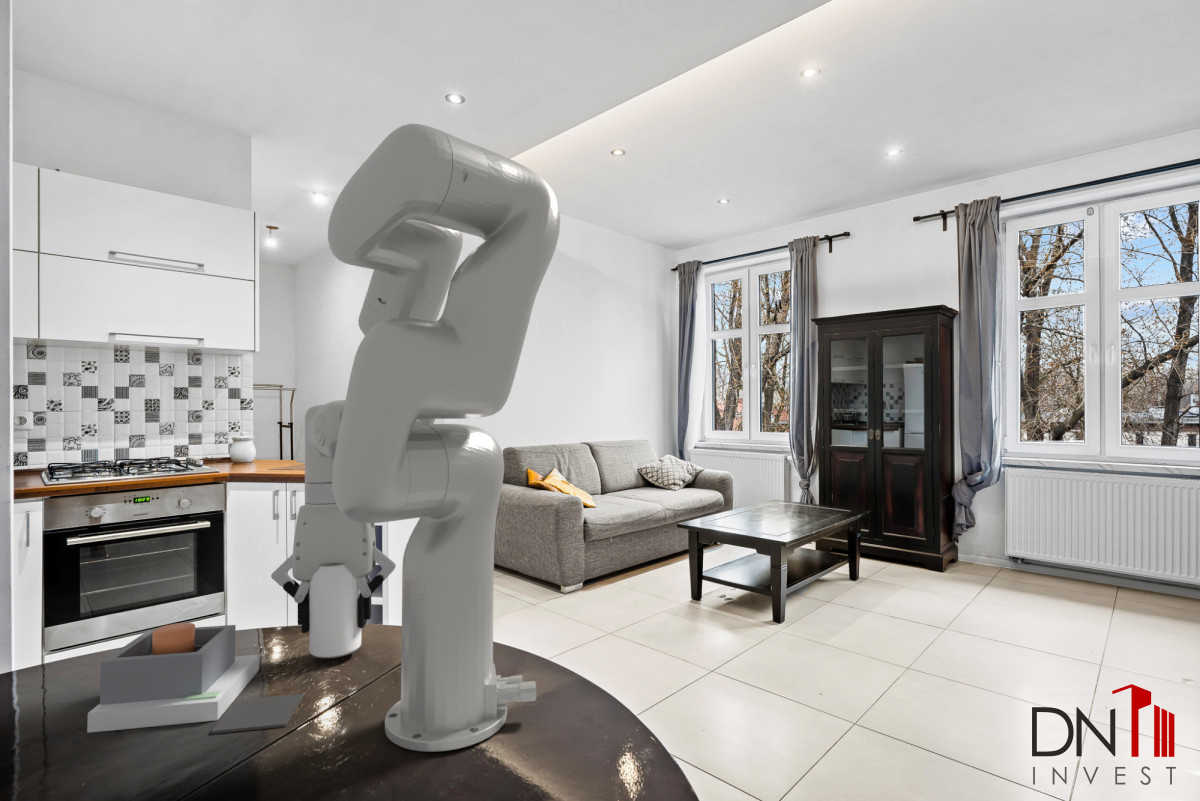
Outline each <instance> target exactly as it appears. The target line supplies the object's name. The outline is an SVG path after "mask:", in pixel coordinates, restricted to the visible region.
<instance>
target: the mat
mask: <svg viewBox="0 0 1200 801" xmlns="http://www.w3.org/2000/svg"><path fill="white" fill-rule="evenodd" d="M303 698H304V693H296V694H285V695H277V696H265V697H262V696H261V697H254V698H253V697H252V698H242V699H235V700H234V702H233V704H231V705H230V706H229V709H227V710H226V711H225V713H224V715H222V716H221V717H220V720H218V722H217V724H215V726H214V727H213V729H211V730H210V734H211V735H218V734H225V733H226V734H227V733H235V732H245V731H247V732H248V731H257V730H264V729H265V730H266V729H276V728H284V727H285V728H286V727H287V725H288V723H289V721H290V720H291V718H292V717H293V715H294V713H295V712H296V710H297V708H298V706H299V705H300V703H301V701H302V699H303Z"/></svg>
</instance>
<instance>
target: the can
mask: <svg viewBox="0 0 1200 801" xmlns="http://www.w3.org/2000/svg"><path fill="white" fill-rule="evenodd" d="M344 565H345V563H344V564H336V565H319V566H320V568H319V570H318V571H317V572H316V573H315V574H314V576H313V577H312V580H311V581H310V587H309V631H308V632H309V634H308V635H309V636H308V640H309V641H308V644H309V648H308V650H309V654H310V655H312V657H314V658H317V659H335V658H341V657H344V656H347V655H350V654H353V653H354V652H356V651H358V650H359V648H360V647H361V646H362V628H359V627H358V599H359V598H360V593H361V592H360V590H359V588H358V586H357V580H356V578H354V577H352V574H351V573H350V571H348V570H347V569H346V568H345V566H344Z"/></svg>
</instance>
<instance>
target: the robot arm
mask: <svg viewBox="0 0 1200 801" xmlns="http://www.w3.org/2000/svg"><path fill="white" fill-rule="evenodd" d="M327 226H328V227H327V241H328V245H329V248H330V251H331V253H332V255H333V256H334V257H335V258H336V259H337V260H338V261H339V262H341V263H344V264H346V265H350V266H354V267H359V268H364V269H370V270H373V271H372V275H371V278H370V282H369V284H368V288H367V290H366V294H365V296H364V299H363V300H364V301H363V304H362V307H361V310H360V313H359V315H358V320H357V321H358V326H359V329H360V331H361V333H362V334H363V335H364V337H363V338H362V340H361V341H360V343H359V345H358V347H357V350H356V353H355V355H354V359H353V364H352V367H351V371H350V376H349V381H348V384H347V385H348V386H347V391H346V396H345V399H341V400H340V399H339V400H333V401H329V402H328V403H325V404H317V405H312V406H310V407H309V408H308V409H307V410H306V412H305V416H304V504H303V505H301V506H299V509H298V514H297V517H296V524H295V529H294V537H293V546H292V548H293V549H292V554H291V555H290V556H289V557H288V558H286V560H285V561H283V563H281V564H280V565H279V567H277V568H276V569H275V570H274V571H273V572H272V573H271V575H270V577H271V579H272V580H273V581H274V582H275V583H277V584H278V585H279V586H280V587H282V589H283V591H284V592H286V593H287V594H288V595H289V596H290V597H292V598H293V600H294V602H295V603H297V625H298V626H301V634H307V633H308V632H309V587H310V581H311V580H312V577H313V576H314V574H315V573H316V572H317V571H318V570H319V568H320V566H319V565H336V564H344V563H345V565H344V566H345V568H346V569H347V570H348V571H350V573H351V574H352V577H354V578H356V580H357V586H358V588H359V590H360V592H361V593H360V598H359V599H358V627H359V628H361V629H364V628H365V627H366V624H367V622H368V620H371V618H372V594H373V593H374V592H375V591H376V590H377V589H378V588H379V587H380V586H381V585H382V584H383V582H384V581H386V579H387V578H388V577H389V576H390V575H391V574H392V572H394V570H395V569H396V566H397V565H396V563H395V562H394V561H393V560H392V559H391V558H390V557H388V556H387V555H386V554H385V553H383V552H382V551H381V549H379V548H377V543H376V540H377V539H376V528H375V524H379V523H380V524H381V523H388V522H397V521H404V520H410V519H418V520H417V522H416V525H415V526H414V528H413V530H412V532H411V534H410V535H409V538H408V540H407V543H406V545H405V549H404V552H403V557H402V573H401V574H402V575H401V577H402V579H401V580H402V581H401V582H402V584H401V650H400V651H401V657H400V658H401V659H400V661H401V662H400V664H401V665H400V666H401V667H400V668H401V669H400V670H401V671H400V672H401V674H400V675H401V677H400V686H401V687H400V700H399V701H397V702H396V703H394V704H393V705H392V707H391V708H389V709H388V711H387V713H386V715H385V717H384V732H385V735H386V737H387V738H388V740H390V742H392V743H393V744H395V745H397V746H398V747H401V748H404V749H406V750H407V749H408V750H410V751H415V752H416V751H417V752H426V753H427V752H428V753H433V752H434V753H435V752H438V753H439V752H448V751H453V750H459V749H463V748H467V747H470V746H473V745H475V744H479V743H480V742H483V741H484V740H487V739H488V738H490V737H492V736H493V735H495V733H497V732H498V731H500V729H501V728H502V727H503V726H504V724H505V722H506V720H507V716H508V703H514V702H519V703H522V702H523V703H524V702H534V701H536V700H537V685H536V684H537V682H536V680H533V681H523V680H524V679H523V675H521V674H519V675H511V676H505V677H502V674H497V670H496V664H495V663H494V571H495V538H496V537H495V536H496V535H495V534H496V523H497V513H498V508H499V502H500V498H501V492H502V488H503V482H504V475H505V474H504V473H505V462H504V460H505V459H504V455H503V452H502V449H501V446H500V445H499V443H498V441H497V440H496V439H495V438H494V437H493V435H492V434H490V433H489V432H487V431H486V430H484V429H482V428H480V427H477V426H473V425H469V424H460V423H435V421H436V419H437V420H439V419H441V420H442V419H443V420H444V419H446V420H448V419H452V420H453V419H454V420H455V419H456V420H457V419H458V420H459V419H462V420H463V419H465V420H467V419H479V418H480V419H481V418H486V417H490V416H493V415H495V414H497V413H499V412H500V411H501V410H502V409H503V407H504V406H505V405H506V403H507V401H508V399H509V396H510V394H511V392H512V388H513V384H514V381H515V378H516V374H517V370H518V366H519V362H520V359H521V354H522V351H523V347H524V342H525V339H526V336H527V332H528V329H529V325H530V322H531V321H530V320H531V315H532V311H533V308H534V304H535V301H536V297H537V294H538V292H539V290H540V287H541V284H542V281H543V280H544V277H545V275H546V273H547V270H548V269H549V266H550V264H551V262H552V259H553V257H554V254H555V251H556V247H557V244H558V241H559V238H560V237H559V235H560V231H561V230H560V229H561V214H560V208H559V204H558V200H557V197H556V195H555V192H554V191H553V189H552V188H551V186H550V185H549V184H548V182H547V181H546V180H545V179H543V178H542V177H541V176H540V175H539V174H538V173H536V172H535V171H533V170H532V169H530V168H528V167H527V166H525V165H523V164H521V163H519V162H517V161H515V160H513V159H511V158H509V157H506V156H505V155H502V154H499V153H497V152H496V151H495V152H494V151H492V150H490V149H487V148H484V147H483V146H482V147H481V146H479V145H477V144H473V143H472V142H469V141H466V140H464V139H461V138H459V137H457V136H455V135H452V134H449V133H447V132H444V131H442V130H441V129H438V128H436V127H435V128H434V127H432V126H428V125H425V124H421V123H420V124H419V123H407V124H404V125H403V124H402V125H401V126H398V127H397V128H396V129H394V130H393V131H391V132H390V133H389V134H388V135H387V136H385V138H384V139H383V140H382V142H380V144H379V145H378V146H377V147H376V149H374V151H372V153H371V154H370V155H369V156H368V158H366V160H365V161H364V162H363V163H362V164H360V166H359V168H358V169H357V170H356V171H355V172H354V173H353V174H352V176H351V177H350V178H349V180H348V181H347V183H346V184H345V185H344V187H343V189H342V190H341V191H340V193H339V195H338V197H337V199H336V201H335V203H334V204H333V207H332V210H331V212H330V217H329V220H328V225H327ZM463 233H464V234H467V235H472V236H475V237H479V238H481V239H482V240H483V241H484V242H482V243H480V244H479V245H478V246H477V247H476V248H475V249H474V250H472V251H471V252H470V253H469V254H467V257H465V259H464V260H463V261H462V262H461V263H460V265H459V266H458V267H457V265H458V262H459V259H460V256H461V253H462V250H463V242H464V241H463ZM456 267H457V268H456ZM446 295H447V297H446ZM445 298H446V302H445V305H444V309H443V312H442V315H441V316H440V317H439V315H440V312H441V309H442V307H443V304H444V301H445ZM438 317H439V319H438ZM376 565H379V566H380V567H381V570H380V571H379V572H378V573H377V574H376V575H375V576H374V577H373V578H372V579H371V578H370V576H369V575H370V574H371V573H372V570H374V568H375V567H376ZM291 569H292V577H293V578H294V579H292V578H291V576H290V575H289V572H290V570H291ZM297 581H299V582H300V583H298V582H297Z"/></svg>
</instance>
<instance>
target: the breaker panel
mask: <svg viewBox="0 0 1200 801" xmlns="http://www.w3.org/2000/svg"><path fill="white" fill-rule="evenodd" d="M236 627H237V626H236V624H230V625H228V624H226V625H225V624H224V625H213V626H199V627H198V626H197V627H196V626H195V651H194V652H189V653H175V654H161V655H152V636H153V631H154V630H155V629H149V630H147V631H145V632H144V633H142V634H141V635H138V637H136V638H135V639H133V640H131V641H130V642H129V643H127V644H126V645H124V646H123V647H121V648H119V649H118V650H117V651H115V652H114V653H112V654H111V655H109V656H108V657H107V658H105V659H104V660H102V661H101V662H100V689H99V690H100V692H99V703H98V704H97V705H96V706H95V707H93V709H90V711H88V712H87V730H86V732H87V734H88V733H98V732H109V731H117V730H118V731H119V730H130V729H141V728H149V727H161V726H171V725H172V726H173V725H182V724H191V723H192V724H193V723H201V722H211V721H219V719H221V718H222V716H223V714H225V713H226V712H227V710H228V708H230V707H231V706H232V703H234V702H235V701H236V699H237V698H238V696H239V695H240V694H241V692H242V691H243V690H244V688H246V687H247V685H248V684H249V683H250V682H251V681H252V679H253V678H254V677H255V676H256V674H257V673H258V672H259V670H260V664H259V663H260V654H252V655H251V654H249V655H238V656H237V655H236V633H237V632H236V631H237V630H236V629H237V628H236Z"/></svg>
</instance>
